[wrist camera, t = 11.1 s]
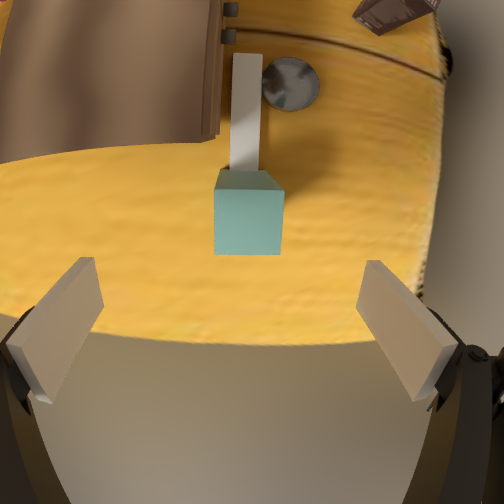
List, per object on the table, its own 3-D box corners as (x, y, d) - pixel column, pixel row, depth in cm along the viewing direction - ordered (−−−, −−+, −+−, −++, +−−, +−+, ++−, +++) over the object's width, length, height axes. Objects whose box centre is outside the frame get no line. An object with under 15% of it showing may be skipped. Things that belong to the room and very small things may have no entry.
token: (263, 113, 29) (265, 111, 27) (257, 63, 27) (259, 58, 25) (316, 110, 29) (321, 109, 27) (311, 61, 27) (316, 57, 25)
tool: (220, 212, 33) (214, 254, 22) (224, 56, 26) (220, 17, 15) (263, 213, 33) (280, 254, 22) (270, 58, 26) (291, 21, 15)
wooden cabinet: (99, 143, 29) (-6, 165, 12) (111, 8, 22) (36, -55, 5) (230, 138, 30) (229, 143, 13) (239, -4, 23) (248, -101, 6)
